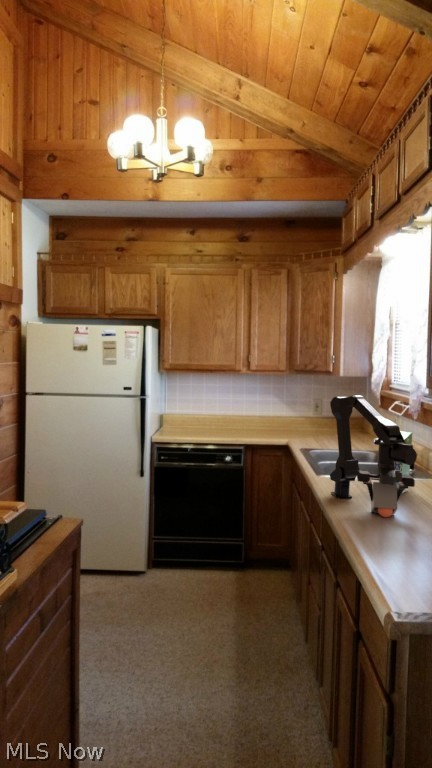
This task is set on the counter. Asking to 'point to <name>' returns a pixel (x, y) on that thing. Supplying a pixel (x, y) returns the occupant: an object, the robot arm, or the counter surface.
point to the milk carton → (401, 466)
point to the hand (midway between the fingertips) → (383, 502)
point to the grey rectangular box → (384, 497)
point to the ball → (385, 512)
